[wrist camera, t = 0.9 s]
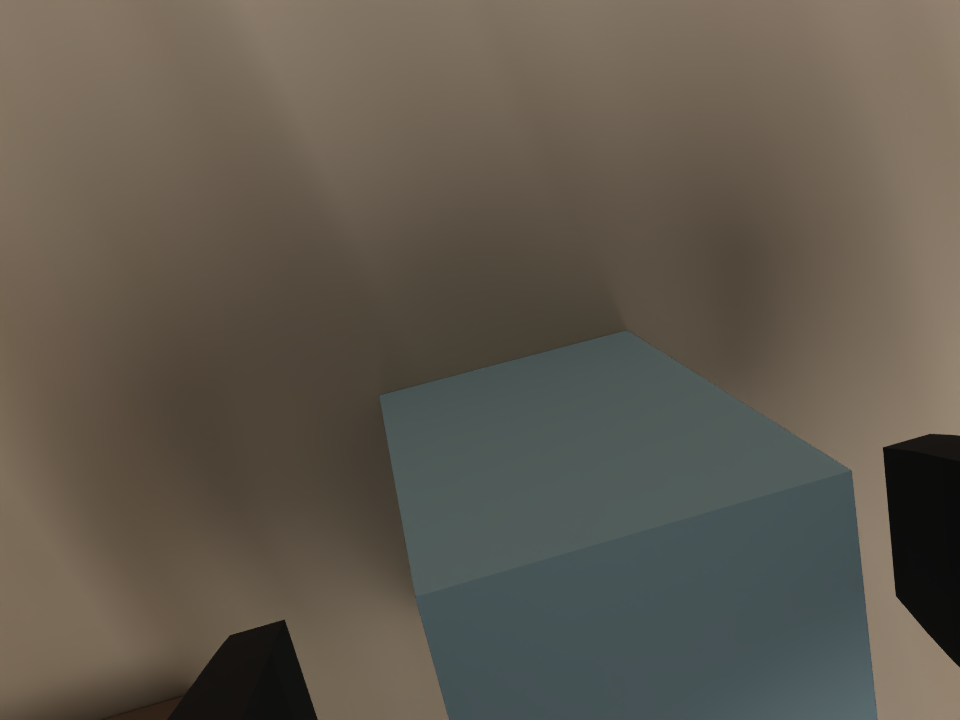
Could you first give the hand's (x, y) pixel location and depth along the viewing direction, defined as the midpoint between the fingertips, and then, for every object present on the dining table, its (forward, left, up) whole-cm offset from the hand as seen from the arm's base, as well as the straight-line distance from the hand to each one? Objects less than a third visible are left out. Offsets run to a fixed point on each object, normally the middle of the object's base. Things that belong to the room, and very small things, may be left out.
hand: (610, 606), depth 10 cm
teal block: (0, 0, -4) cm, 4 cm away
